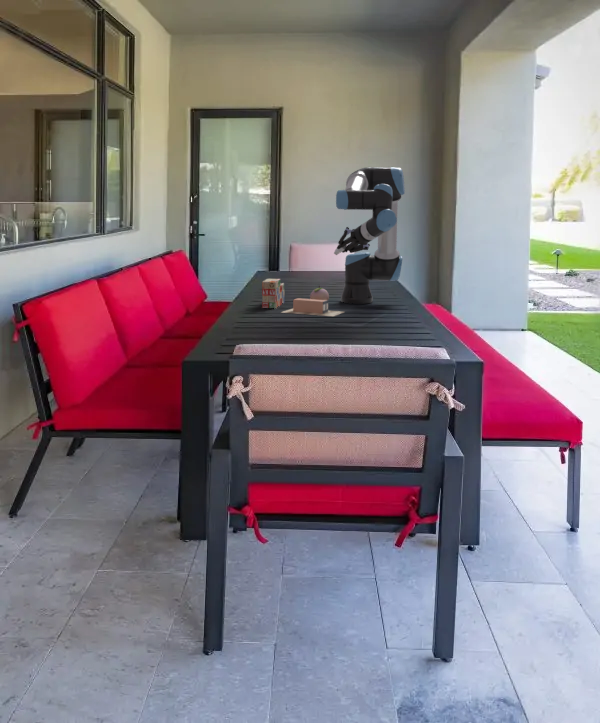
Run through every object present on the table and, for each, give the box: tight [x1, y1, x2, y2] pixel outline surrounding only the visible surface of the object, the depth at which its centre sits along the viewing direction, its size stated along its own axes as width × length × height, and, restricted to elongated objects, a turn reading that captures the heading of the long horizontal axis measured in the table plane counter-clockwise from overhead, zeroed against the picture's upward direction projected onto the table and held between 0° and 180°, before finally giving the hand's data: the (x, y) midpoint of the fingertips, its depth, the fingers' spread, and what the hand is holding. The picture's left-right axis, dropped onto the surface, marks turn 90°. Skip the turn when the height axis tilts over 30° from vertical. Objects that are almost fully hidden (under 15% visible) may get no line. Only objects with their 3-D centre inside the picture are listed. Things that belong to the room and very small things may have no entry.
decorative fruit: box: [309, 285, 330, 301], centre depth 343 cm, size 9×8×10 cm
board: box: [280, 308, 345, 317], centre depth 325 cm, size 24×14×1 cm, turn 67°
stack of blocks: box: [261, 278, 286, 310], centre depth 349 cm, size 21×6×12 cm, turn 170°
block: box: [292, 297, 329, 314], centre depth 326 cm, size 5×5×14 cm
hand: (336, 251), depth 326 cm, fingers closed
